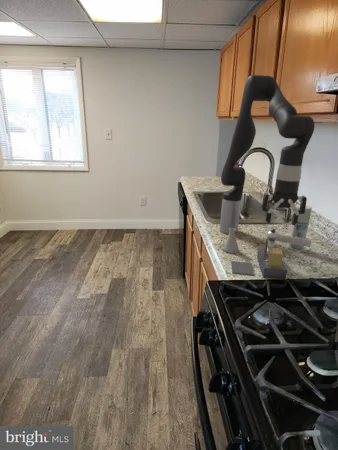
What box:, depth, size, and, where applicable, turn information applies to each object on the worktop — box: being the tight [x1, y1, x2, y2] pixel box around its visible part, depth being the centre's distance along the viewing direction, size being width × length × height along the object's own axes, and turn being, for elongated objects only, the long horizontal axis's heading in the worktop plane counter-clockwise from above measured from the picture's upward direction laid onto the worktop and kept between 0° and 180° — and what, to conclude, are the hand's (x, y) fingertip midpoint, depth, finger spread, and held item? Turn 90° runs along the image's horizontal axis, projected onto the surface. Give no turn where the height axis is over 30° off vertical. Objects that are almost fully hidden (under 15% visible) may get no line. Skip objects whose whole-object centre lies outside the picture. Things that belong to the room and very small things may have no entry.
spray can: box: [288, 204, 313, 252], centre depth 134 cm, size 6×6×20 cm
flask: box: [221, 228, 239, 254], centre depth 131 cm, size 7×7×10 cm
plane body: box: [256, 238, 288, 281], centre depth 116 cm, size 18×8×10 cm, turn 171°
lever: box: [267, 228, 312, 248], centre depth 116 cm, size 16×4×4 cm, turn 63°
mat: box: [230, 260, 255, 276], centre depth 117 cm, size 10×8×1 cm
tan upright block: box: [267, 247, 284, 268], centre depth 111 cm, size 5×4×6 cm
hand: (280, 223), depth 107 cm, fingers open, 8 cm apart
